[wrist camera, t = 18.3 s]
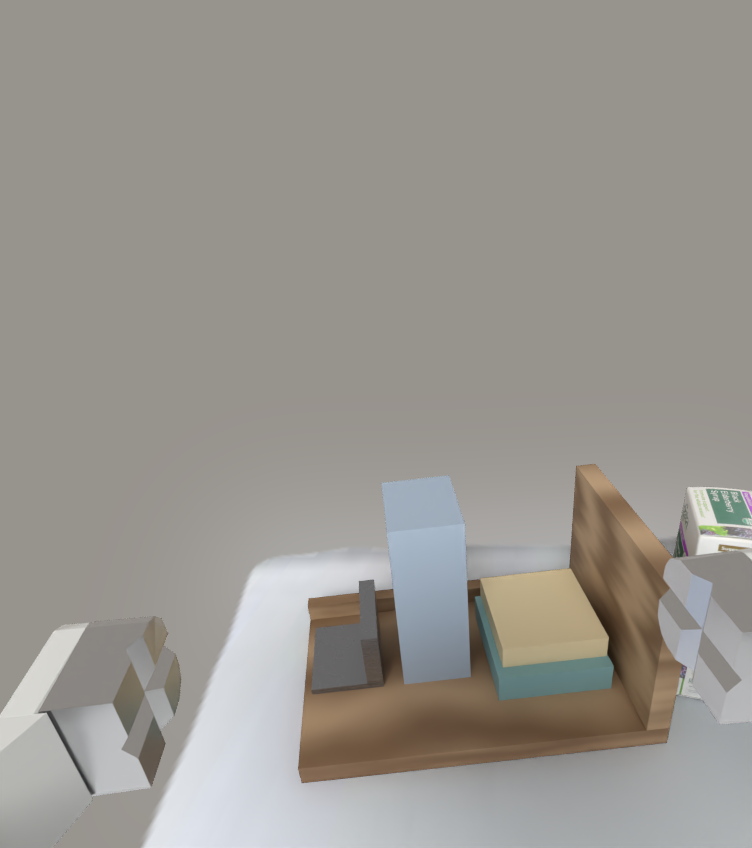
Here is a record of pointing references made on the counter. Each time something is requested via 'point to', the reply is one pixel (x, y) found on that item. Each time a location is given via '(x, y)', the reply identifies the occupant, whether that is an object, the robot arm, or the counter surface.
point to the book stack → (541, 635)
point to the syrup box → (712, 536)
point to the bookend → (350, 650)
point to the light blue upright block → (428, 578)
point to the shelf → (476, 696)
